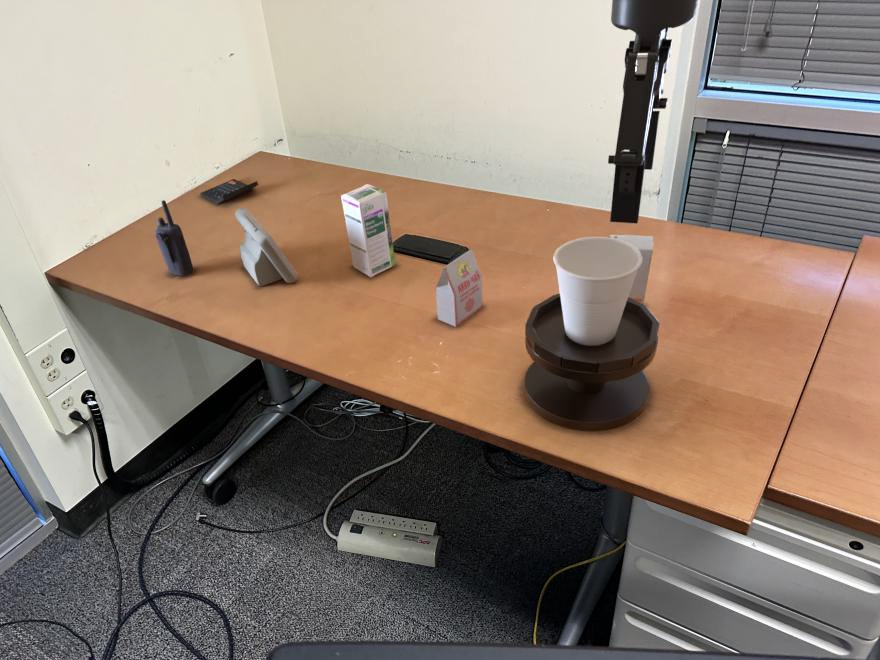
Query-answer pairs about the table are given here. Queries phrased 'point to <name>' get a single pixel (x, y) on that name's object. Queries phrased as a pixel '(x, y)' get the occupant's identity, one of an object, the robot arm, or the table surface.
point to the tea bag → (459, 290)
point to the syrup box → (369, 229)
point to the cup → (595, 286)
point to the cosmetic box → (641, 278)
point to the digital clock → (262, 253)
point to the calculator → (227, 191)
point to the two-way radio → (173, 245)
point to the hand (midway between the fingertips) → (632, 193)
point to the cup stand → (589, 369)
